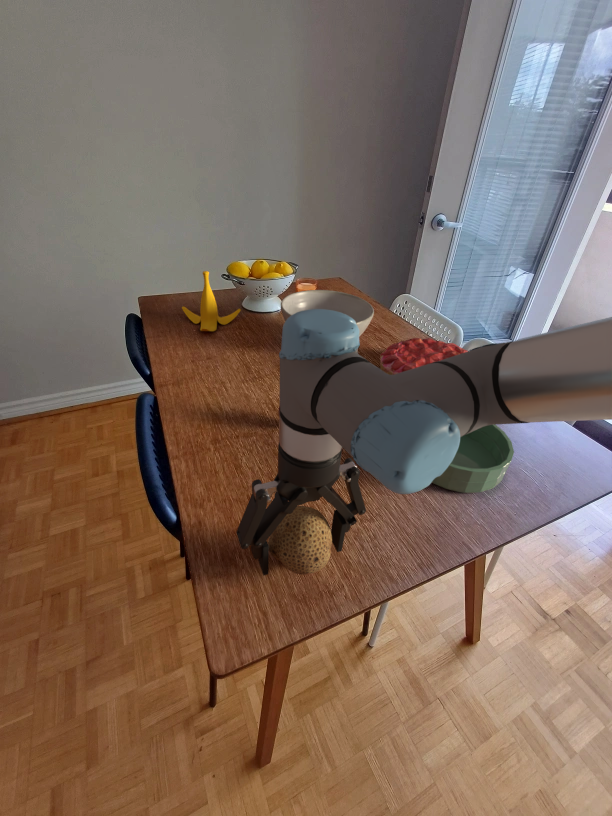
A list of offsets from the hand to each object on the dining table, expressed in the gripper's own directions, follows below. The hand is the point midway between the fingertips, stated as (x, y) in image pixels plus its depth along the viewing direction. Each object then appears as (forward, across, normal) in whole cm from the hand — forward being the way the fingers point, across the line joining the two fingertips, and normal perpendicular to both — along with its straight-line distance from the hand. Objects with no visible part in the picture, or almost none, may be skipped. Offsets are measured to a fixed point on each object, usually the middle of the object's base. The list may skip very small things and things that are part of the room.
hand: (300, 555), depth 59 cm
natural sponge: (+2, 0, 0) cm, 2 cm away
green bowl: (+2, -38, -12) cm, 40 cm away
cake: (+2, -52, -41) cm, 66 cm away
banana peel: (+2, -2, -87) cm, 87 cm away
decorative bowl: (+2, -33, -67) cm, 75 cm away
